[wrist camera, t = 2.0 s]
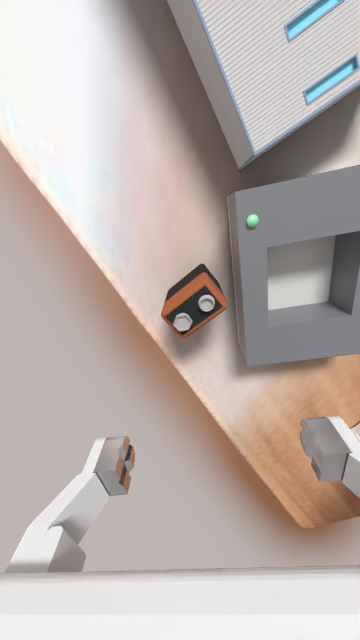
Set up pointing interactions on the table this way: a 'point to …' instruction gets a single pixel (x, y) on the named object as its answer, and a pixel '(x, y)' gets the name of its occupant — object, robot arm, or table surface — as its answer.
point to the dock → (297, 267)
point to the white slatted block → (270, 63)
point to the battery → (193, 301)
